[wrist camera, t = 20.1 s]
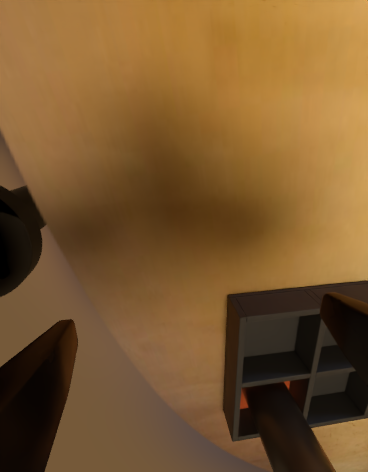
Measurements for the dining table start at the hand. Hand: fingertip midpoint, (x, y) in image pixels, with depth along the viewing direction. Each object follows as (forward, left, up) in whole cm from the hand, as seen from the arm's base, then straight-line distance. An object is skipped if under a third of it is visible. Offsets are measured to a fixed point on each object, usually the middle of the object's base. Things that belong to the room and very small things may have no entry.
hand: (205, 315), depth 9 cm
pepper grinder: (+9, -20, -12) cm, 25 cm away
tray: (+13, -16, -13) cm, 24 cm away
